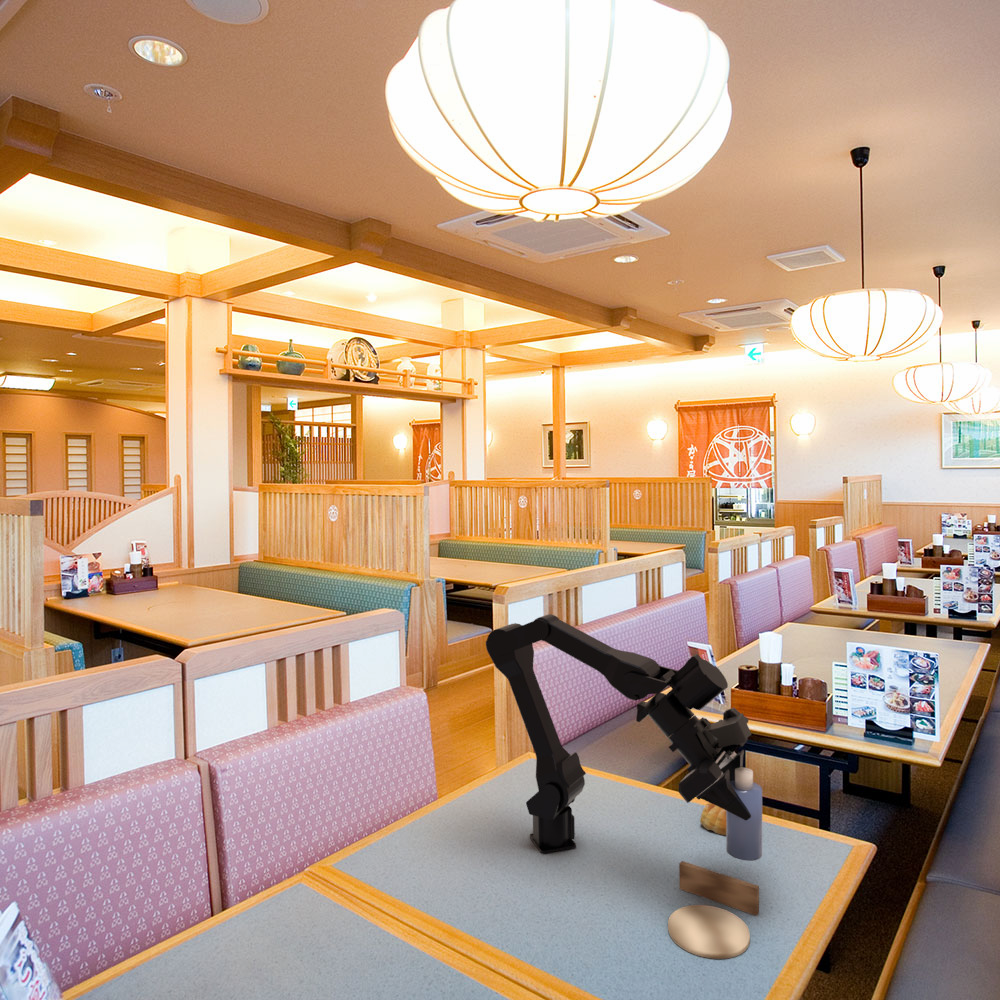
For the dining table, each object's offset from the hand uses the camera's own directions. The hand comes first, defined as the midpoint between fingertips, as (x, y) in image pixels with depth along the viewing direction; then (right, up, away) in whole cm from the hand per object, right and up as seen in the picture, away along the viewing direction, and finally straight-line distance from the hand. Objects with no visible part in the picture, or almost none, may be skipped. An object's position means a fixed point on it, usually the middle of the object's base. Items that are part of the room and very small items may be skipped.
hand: (753, 811), depth 111 cm
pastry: (+3, -13, +23) cm, 27 cm away
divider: (-5, -13, 0) cm, 15 cm away
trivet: (-9, -14, -8) cm, 18 cm away
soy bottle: (-1, -7, +1) cm, 7 cm away
